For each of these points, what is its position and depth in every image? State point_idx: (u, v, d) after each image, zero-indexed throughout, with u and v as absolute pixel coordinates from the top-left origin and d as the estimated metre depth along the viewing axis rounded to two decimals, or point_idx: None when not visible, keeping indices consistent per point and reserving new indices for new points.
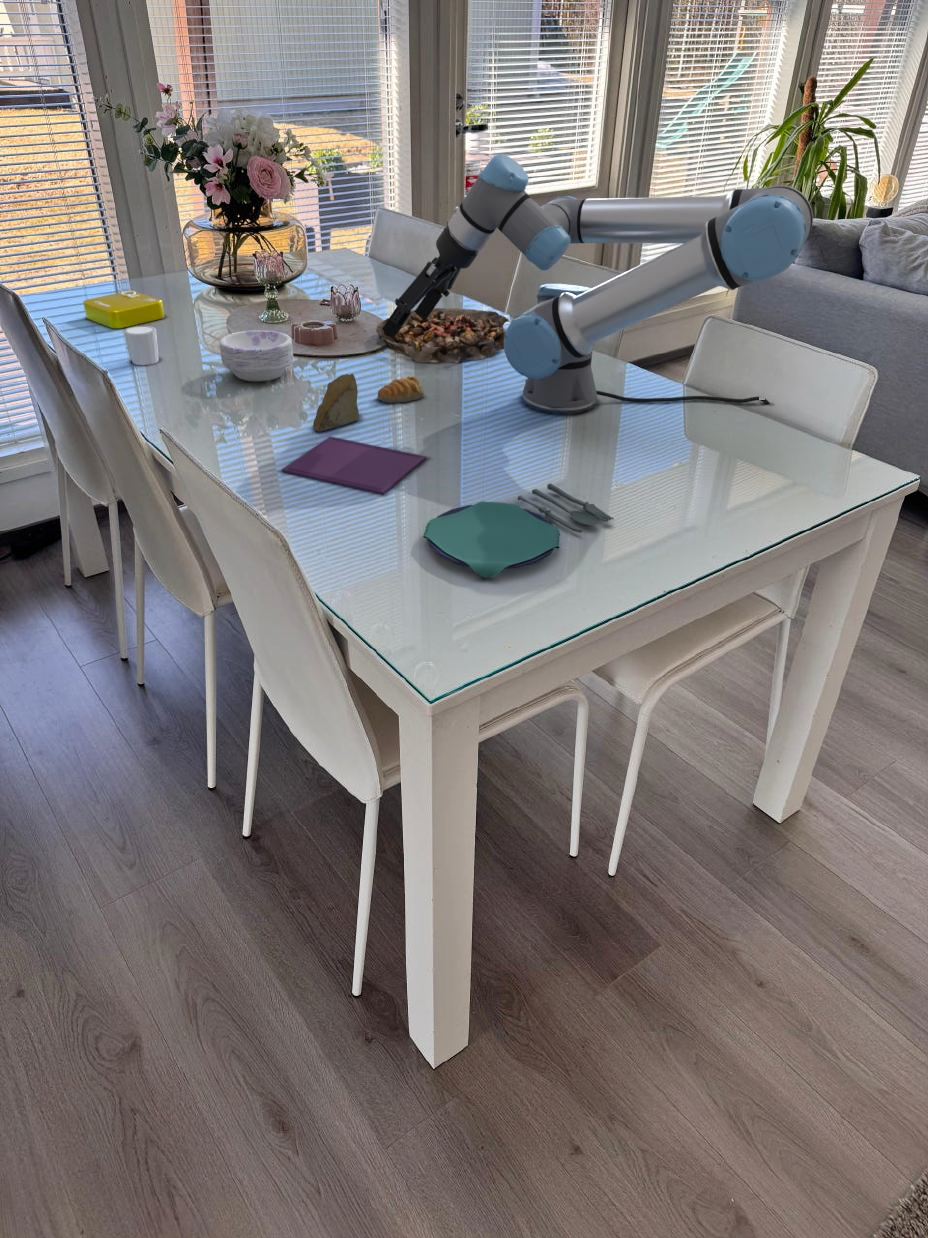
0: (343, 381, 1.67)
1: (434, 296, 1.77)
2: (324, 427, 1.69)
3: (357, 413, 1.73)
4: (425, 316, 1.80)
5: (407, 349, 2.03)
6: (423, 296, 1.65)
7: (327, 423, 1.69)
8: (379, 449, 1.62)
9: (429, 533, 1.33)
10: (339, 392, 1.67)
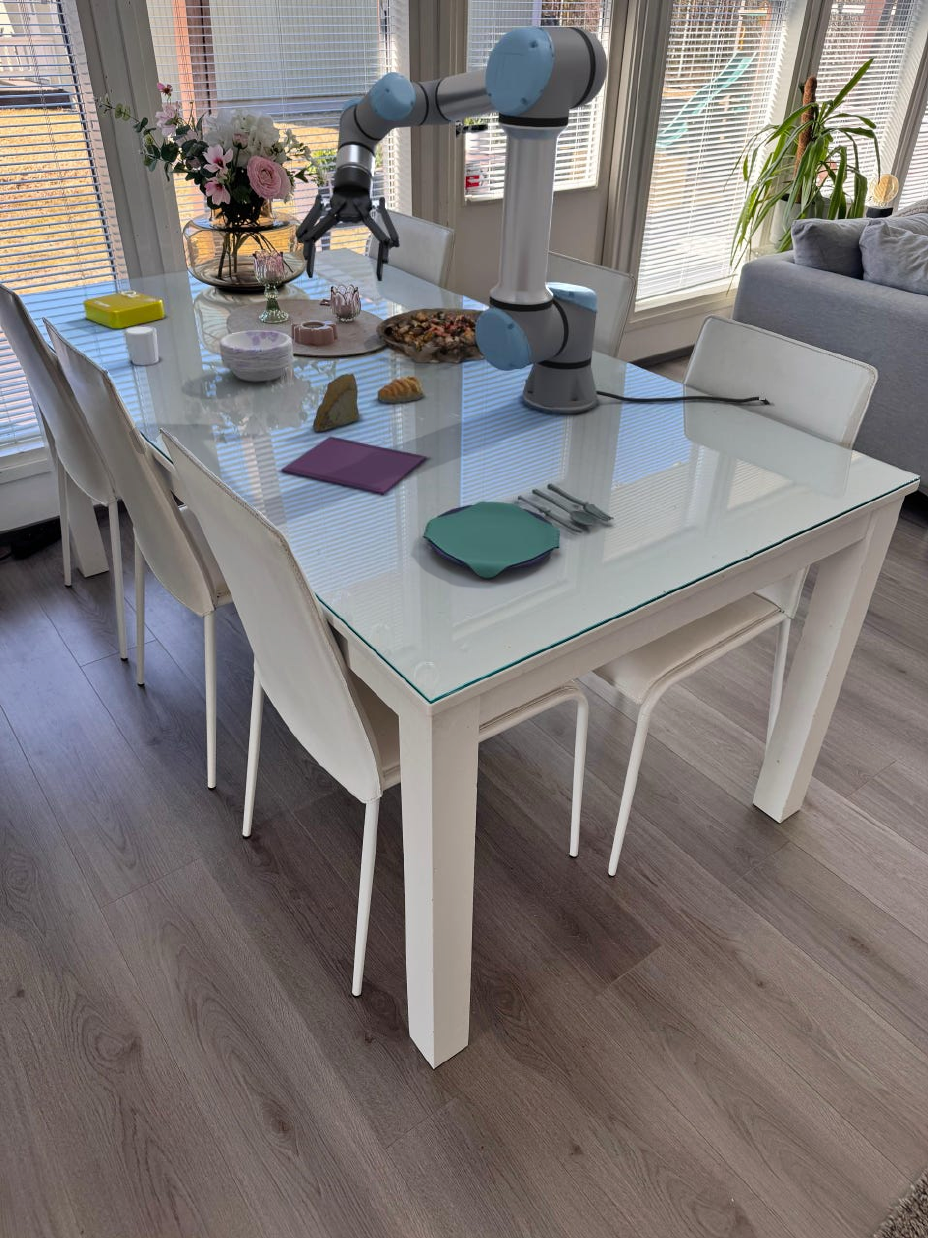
0: (343, 381, 1.67)
1: None
2: (324, 427, 1.69)
3: (357, 413, 1.73)
4: None
5: (407, 349, 2.03)
6: (321, 224, 1.73)
7: (327, 423, 1.69)
8: (379, 449, 1.62)
9: (429, 533, 1.33)
10: (339, 392, 1.67)
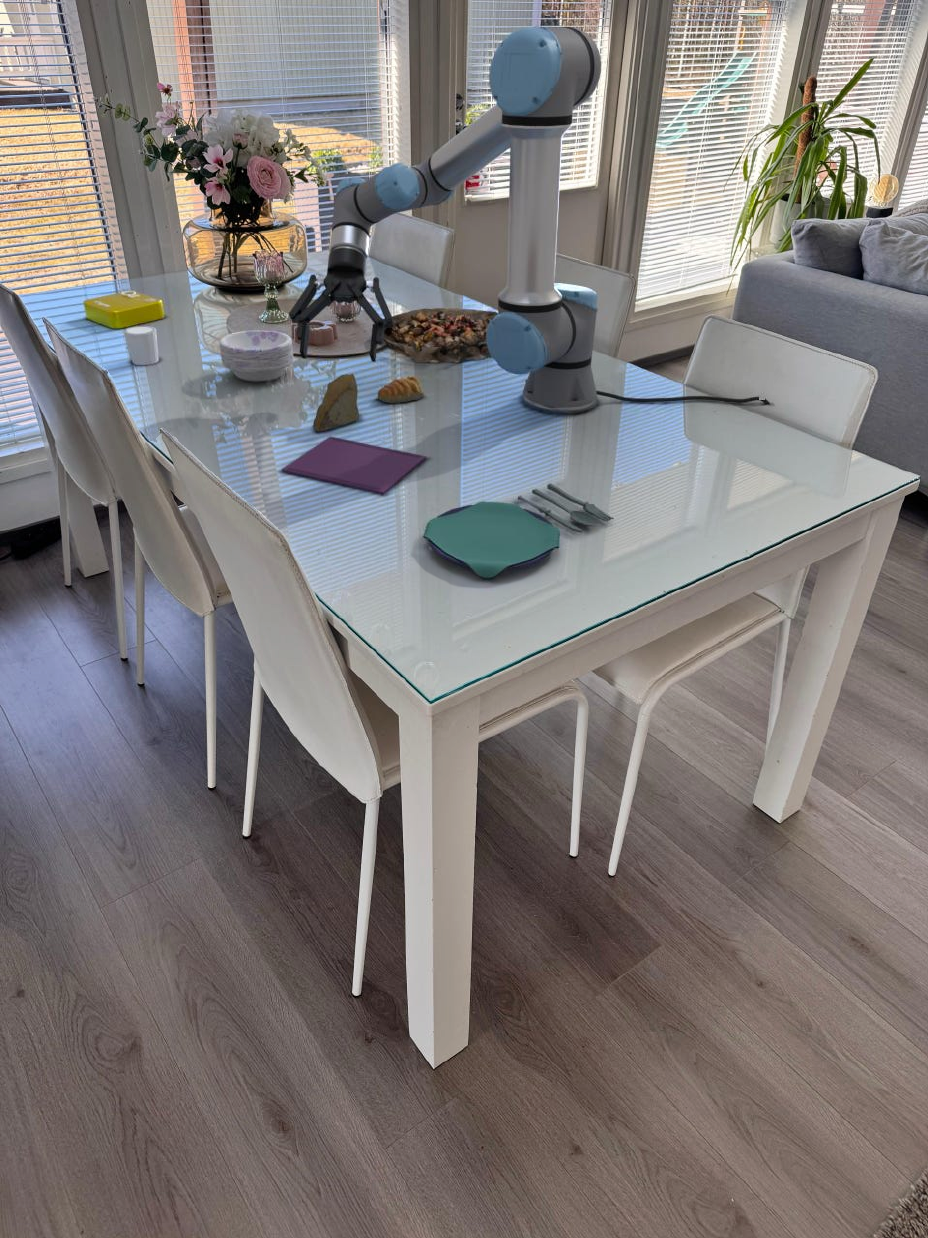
0: (343, 381, 1.67)
1: None
2: (324, 427, 1.69)
3: (357, 413, 1.73)
4: (370, 351, 1.70)
5: (407, 349, 2.03)
6: (315, 305, 1.72)
7: (327, 423, 1.69)
8: (379, 449, 1.62)
9: (429, 533, 1.33)
10: (339, 392, 1.67)
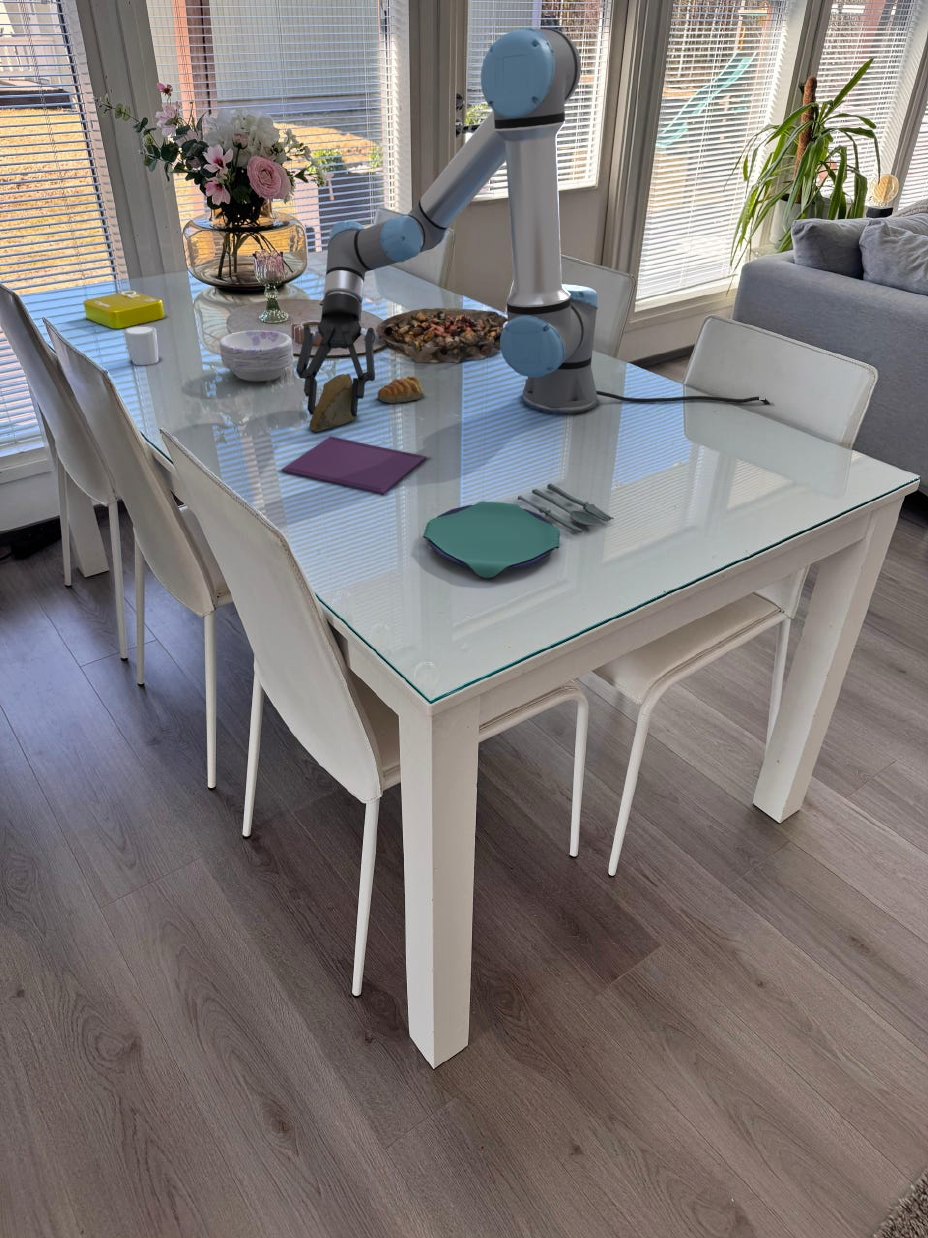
0: (339, 381, 1.67)
1: None
2: (321, 427, 1.69)
3: None
4: None
5: (407, 349, 2.03)
6: (318, 356, 1.69)
7: (323, 424, 1.69)
8: (379, 449, 1.62)
9: (429, 533, 1.33)
10: (335, 392, 1.66)
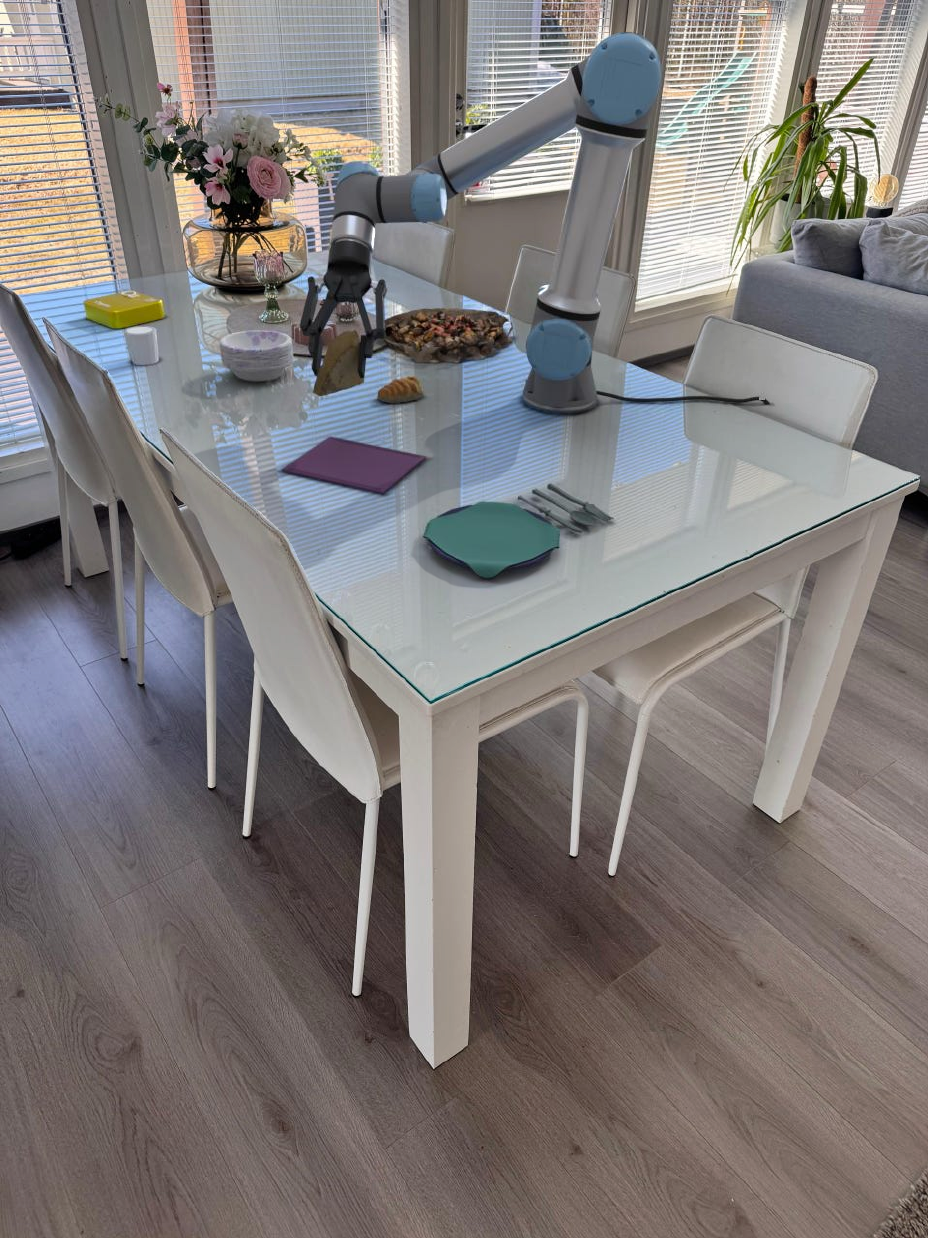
0: (344, 338, 1.50)
1: None
2: (326, 391, 1.52)
3: None
4: (358, 366, 1.50)
5: (407, 349, 2.03)
6: (323, 311, 1.52)
7: (329, 387, 1.52)
8: (379, 449, 1.62)
9: (429, 533, 1.33)
10: (341, 351, 1.50)
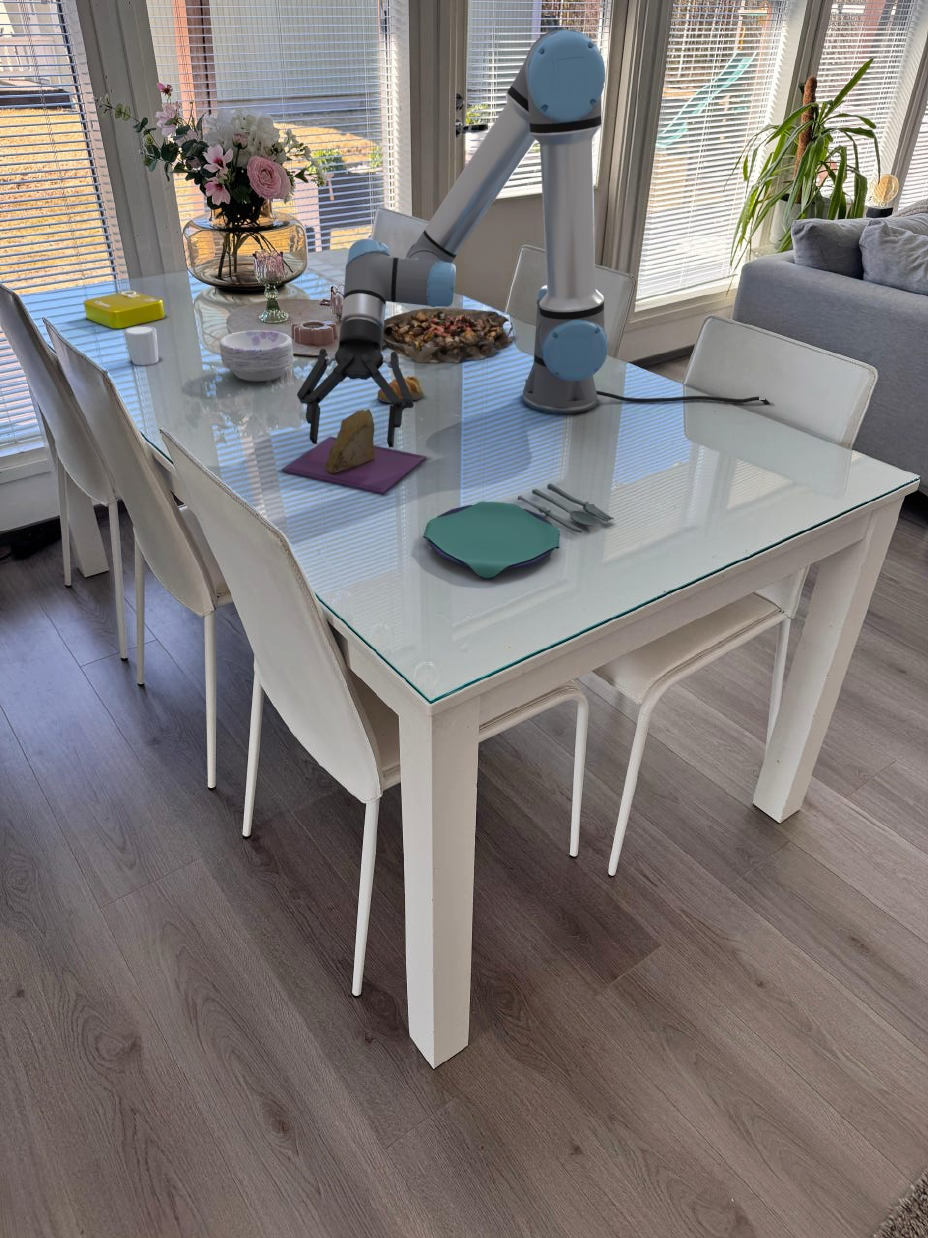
0: (358, 418, 1.51)
1: None
2: (338, 468, 1.53)
3: (373, 452, 1.57)
4: None
5: (407, 349, 2.03)
6: (326, 383, 1.53)
7: (341, 464, 1.53)
8: (379, 449, 1.62)
9: (429, 533, 1.33)
10: (354, 430, 1.50)
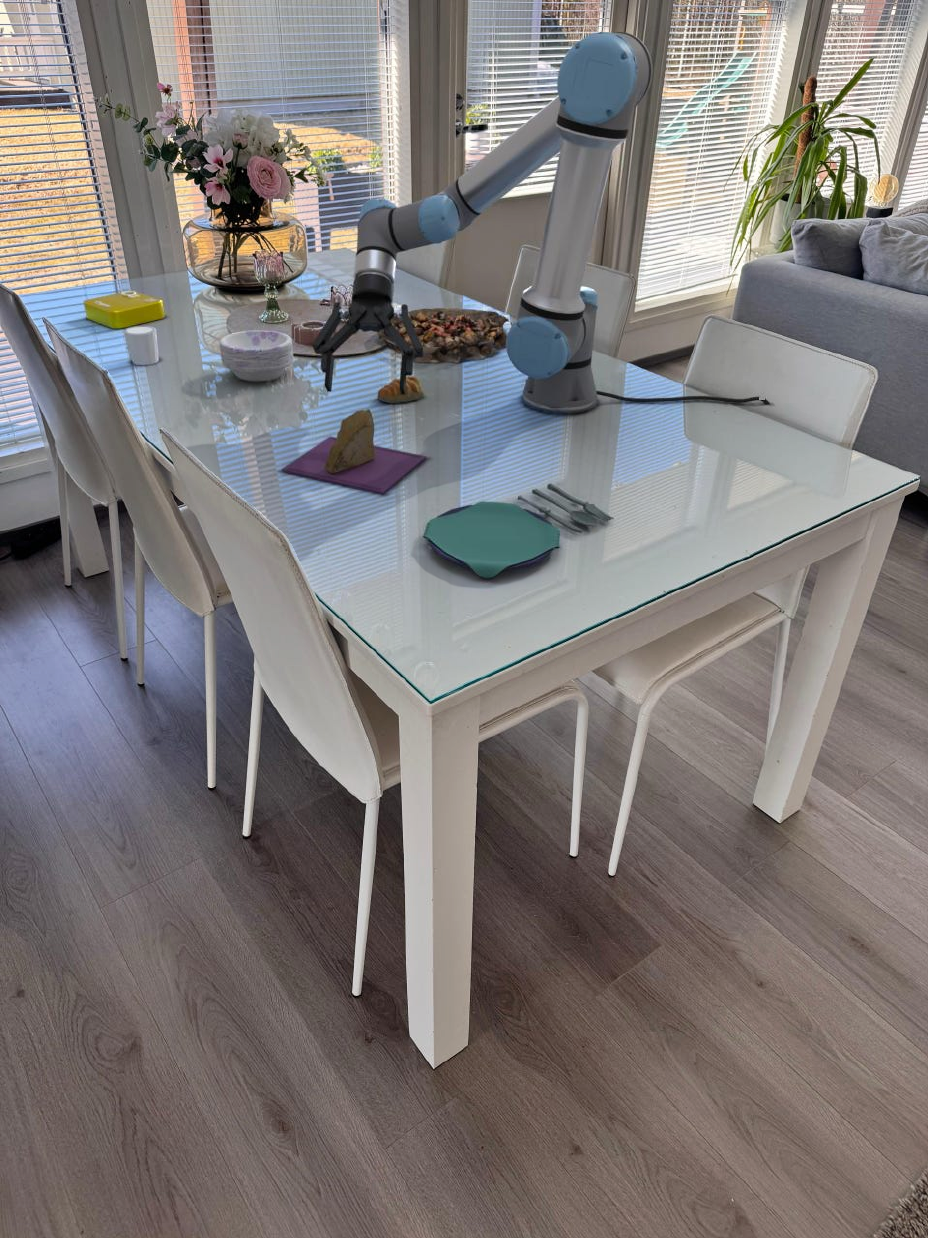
0: (358, 418, 1.51)
1: None
2: (338, 468, 1.53)
3: (373, 452, 1.57)
4: None
5: None
6: (340, 334, 1.62)
7: (341, 464, 1.53)
8: (379, 449, 1.62)
9: (429, 533, 1.33)
10: (354, 430, 1.50)
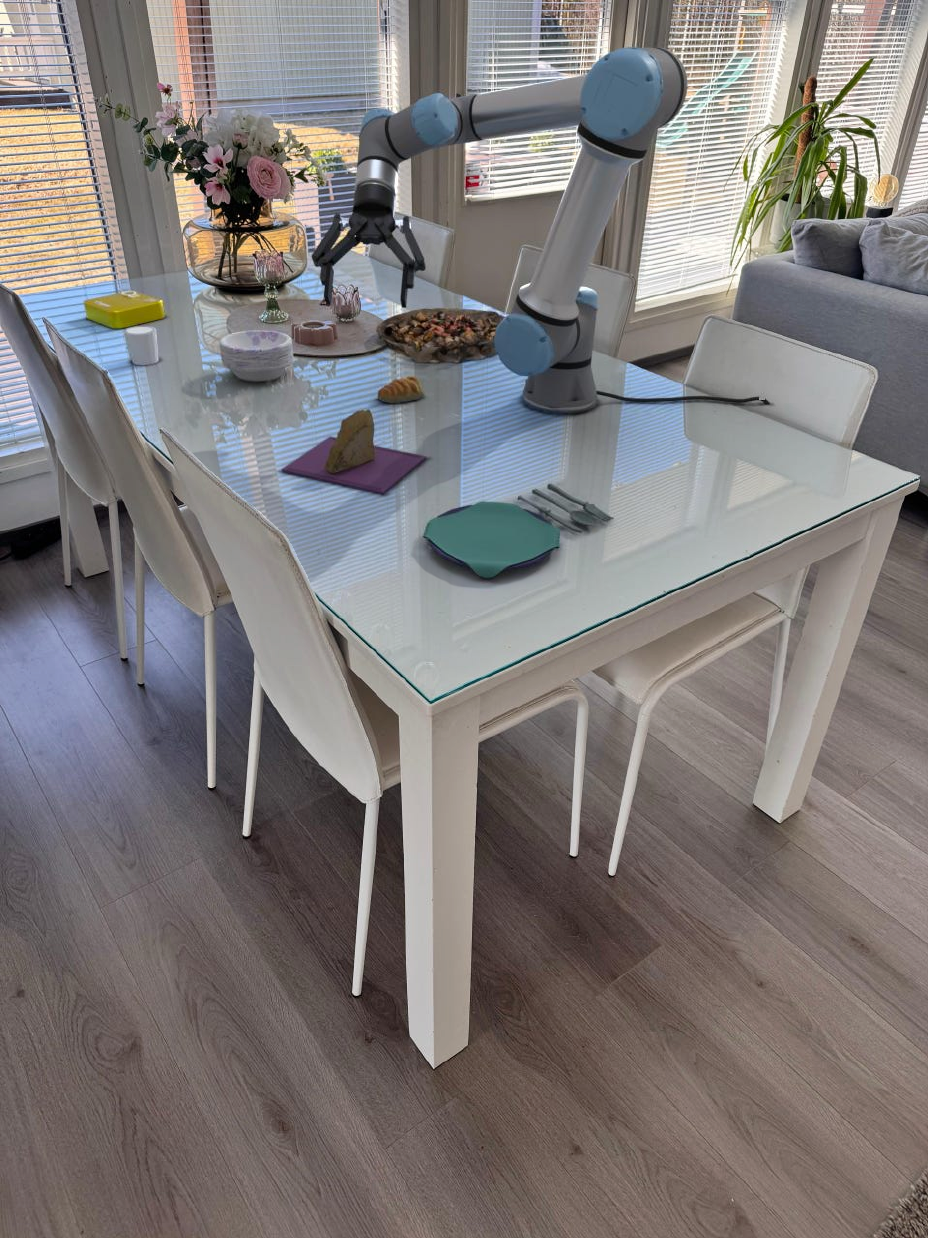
0: (358, 418, 1.51)
1: None
2: (338, 468, 1.53)
3: (373, 452, 1.57)
4: None
5: (407, 349, 2.03)
6: (340, 246, 1.58)
7: (341, 464, 1.53)
8: (379, 449, 1.62)
9: (429, 533, 1.33)
10: (354, 430, 1.50)
